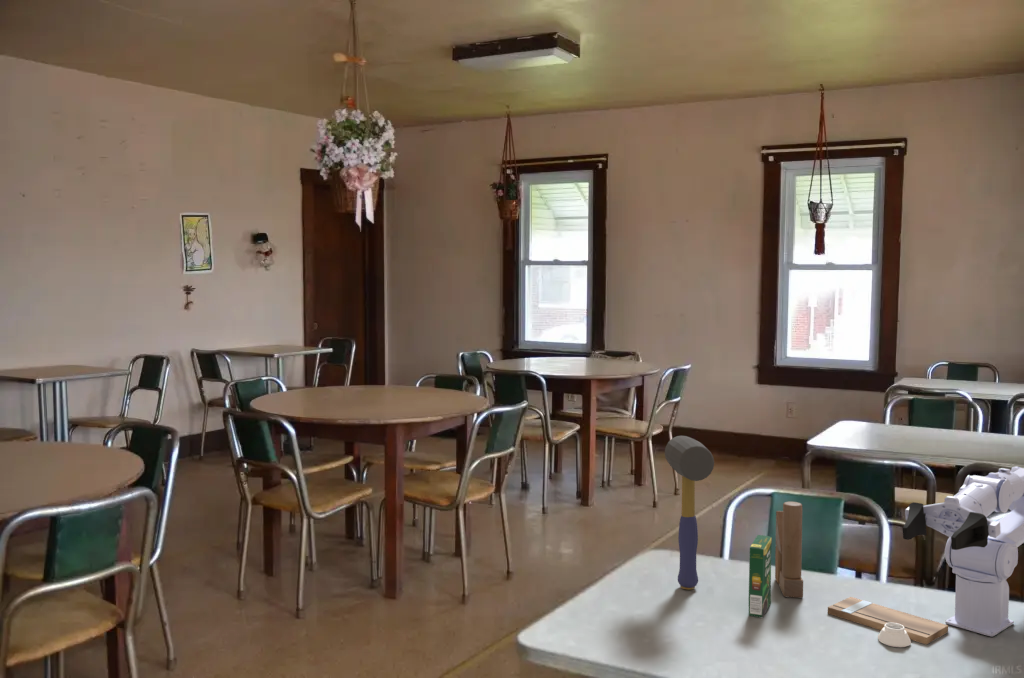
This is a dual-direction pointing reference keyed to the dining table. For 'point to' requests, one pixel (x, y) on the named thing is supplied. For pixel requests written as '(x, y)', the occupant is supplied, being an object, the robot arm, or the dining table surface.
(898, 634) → the lidless jar
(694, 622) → the dining table surface
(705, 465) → the rubber mallet
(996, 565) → the robot arm
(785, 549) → the wooden block
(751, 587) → the coffee box
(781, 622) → the dining table surface
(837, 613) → the board
